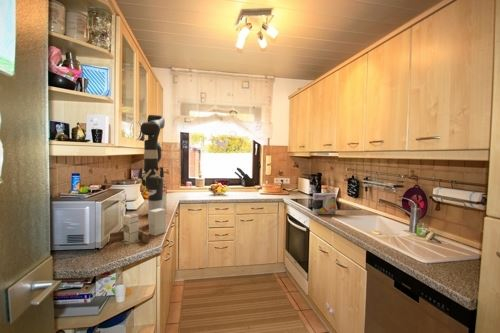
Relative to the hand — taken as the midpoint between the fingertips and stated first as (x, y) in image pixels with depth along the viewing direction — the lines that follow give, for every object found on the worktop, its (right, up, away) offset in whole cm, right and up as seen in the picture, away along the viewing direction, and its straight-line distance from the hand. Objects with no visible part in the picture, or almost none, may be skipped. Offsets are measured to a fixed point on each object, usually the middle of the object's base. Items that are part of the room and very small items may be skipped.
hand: (151, 185), depth 153 cm
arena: (-9, -31, -10) cm, 34 cm away
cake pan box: (+119, -29, +65) cm, 139 cm away
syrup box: (-9, -31, -6) cm, 33 cm away
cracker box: (-17, -28, +58) cm, 67 cm away
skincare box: (+1, -30, +8) cm, 31 cm away
